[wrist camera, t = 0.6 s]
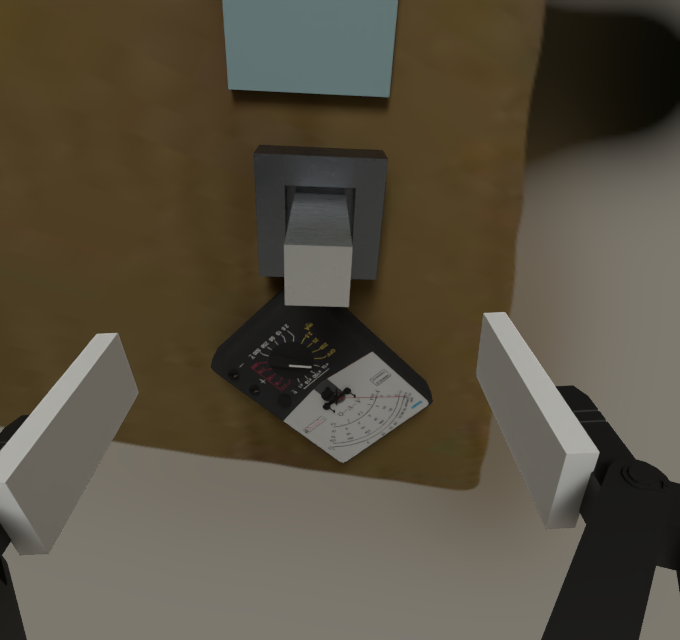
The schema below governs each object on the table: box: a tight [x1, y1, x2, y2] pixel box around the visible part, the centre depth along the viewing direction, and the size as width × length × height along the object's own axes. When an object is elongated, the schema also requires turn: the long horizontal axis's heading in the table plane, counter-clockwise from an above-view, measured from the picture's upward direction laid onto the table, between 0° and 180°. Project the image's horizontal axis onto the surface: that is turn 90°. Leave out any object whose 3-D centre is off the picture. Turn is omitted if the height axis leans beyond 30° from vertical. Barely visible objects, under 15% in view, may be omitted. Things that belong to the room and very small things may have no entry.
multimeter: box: [211, 287, 433, 463], centre depth 47 cm, size 13×19×5 cm
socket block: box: [254, 145, 388, 280], centre depth 38 cm, size 10×10×4 cm
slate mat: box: [222, 0, 398, 97], centre depth 32 cm, size 12×10×1 cm
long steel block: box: [284, 187, 353, 307], centre depth 33 cm, size 4×4×13 cm
